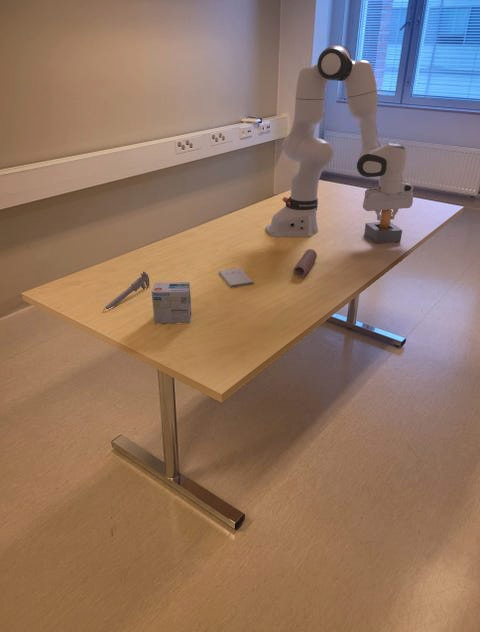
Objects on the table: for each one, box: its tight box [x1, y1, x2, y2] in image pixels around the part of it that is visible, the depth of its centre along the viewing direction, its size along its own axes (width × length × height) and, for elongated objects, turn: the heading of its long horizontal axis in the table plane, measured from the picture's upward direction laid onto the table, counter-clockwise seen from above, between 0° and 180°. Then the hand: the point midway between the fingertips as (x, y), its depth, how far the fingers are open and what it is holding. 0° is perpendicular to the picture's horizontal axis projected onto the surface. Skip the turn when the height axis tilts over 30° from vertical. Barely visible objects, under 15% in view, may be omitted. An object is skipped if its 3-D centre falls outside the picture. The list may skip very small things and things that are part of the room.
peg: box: [379, 209, 393, 229], centre depth 206 cm, size 4×4×8 cm
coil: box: [293, 248, 318, 279], centre depth 182 cm, size 5×5×18 cm
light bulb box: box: [151, 281, 192, 324], centre depth 147 cm, size 11×7×11 cm, turn 92°
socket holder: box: [364, 221, 403, 245], centre depth 209 cm, size 11×11×5 cm
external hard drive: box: [218, 267, 254, 289], centre depth 175 cm, size 2×8×12 cm
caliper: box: [104, 271, 151, 309], centre depth 160 cm, size 21×1×6 cm, turn 149°
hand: (385, 219), depth 206 cm, fingers closed on peg, 4 cm apart
